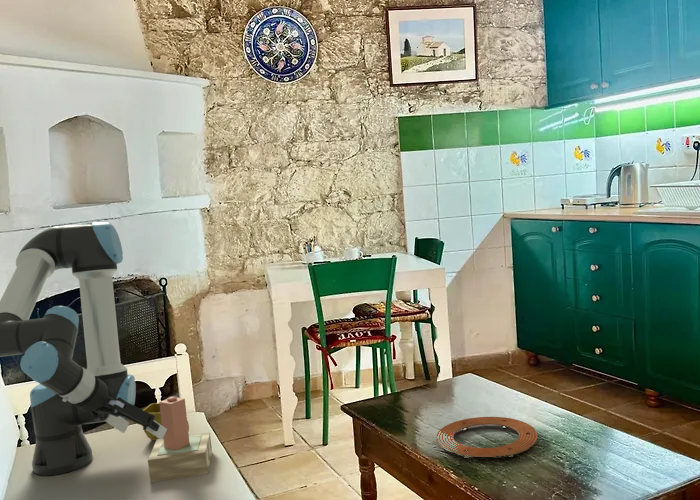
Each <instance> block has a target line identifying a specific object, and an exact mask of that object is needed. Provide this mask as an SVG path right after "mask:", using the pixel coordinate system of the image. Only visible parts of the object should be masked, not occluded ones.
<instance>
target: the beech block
mask: <svg viewBox="0 0 700 500" xmlns="http://www.w3.org/2000/svg"><path fill="white" fill-rule="evenodd" d="M189 442H190V444H189V445H186V446H184V447H182V448H180V449H178V450H173V449H168V448H164V440H163V439H162V440H161V439H157V440H155V443H154V445H153V446H152V450H151V452H150V454H149V457H148V459H147V464H148V473H149V479H150V480H149V481H150V483H152V482H160V481H165V480H166V481H167V480H175V479H180V478H187V477H194V476H201V475H208V474H209V469H210V466H211V465H210V464H211V460H212V456H213V447H212V439H211V432H204V433H194V434H189Z"/></svg>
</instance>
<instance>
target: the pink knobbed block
mask: <svg viewBox="0 0 700 500" xmlns="http://www.w3.org/2000/svg"><path fill="white" fill-rule="evenodd" d="M158 403H159V404H160V413H161V422H162V426H164V427H165V428H166V429H167V431H166V433H165V435H164V437H163V440H164V448H168V449H173V450H178V449H180V448H182V447H184V446H186V445H189V444H190V442H189V435H190V434H189V432H188V424H189V423H188V424H187V421H188V417H187V407H186V398H183V397H177V396H169V397H167V398H166V399H164V400H161V401H158Z"/></svg>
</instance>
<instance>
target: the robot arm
mask: <svg viewBox="0 0 700 500" xmlns="http://www.w3.org/2000/svg"><path fill="white" fill-rule="evenodd" d="M123 253H124V252H123V247H122V243H121V239H120V236H119V234H118V232H117V229H116V228H115V226H114V225H113V224H112V223H110V222H88V223H79V224H71V225H59V226H58V225H57V226H53V227H50V228H46V229H45V230H43V231H41V232H39V233H37V234H36V235H35V236H34V237H32V238H31V239H30V240H29V241H28V242H27V243H25V244H24V245H23V247H22V248H21V249H20V252H19V253H18V255H17V257H16V260H15V265H16V268H15V270H14V272H13V274H12V277H11V278H10V280H9V283H8V284H7V286H6V288H5V290H4V292H3V294H2V295H1V298H0V358H3V357H11V356H19V355H23V356H21V359H20V368H21V371H22V372H23V373H24V374H25V375H26V376H28V377H30V378H31V380H33V381H34V382H36V383H38V384H37V385H36V386H34V387H33V388H32V389H31V390H30V393H29V398H30V405H29V406H30V409H31V410H30V411H31V417H32V423H33V428H34V430H33V431H34V435H35V447H34V452H33V457H32V461H31V462H32V463H31V466H32V472H33V471H34V472H33V473H34V474H35V473H36V475H37V474H38V475H37V476H42V477H43V476H45V477H47V476H56V475H62V474H66V473H69V472H72V471H75V470H78V469H80V468H82V467H84V466H86V465H88V464H90V462H91V461H92V460H93V459H94V457H93V449H92V447H91V445H90V443H89V441H88V440H87V438H86V436H85V434H84V431H83V428H82V427H83V426H82V425H90V424H96V423H103V422H105V423H107V424H108V425H110V426H112V427H113V428H115V429H116V430H118V431H119V432H120V433H122V434H123V433H125V432H126V431H127V429H128V427H129V425H130V421H131V422H133V423H135V424H138V425H140V426H142V430H143V431H144V430H147V431H148V432H150V433H151V434H153V435H154V436H156V437H157V438H159V439H161V440H162V439H163V437H164V435H165V433H166V431H167V429H166V428H165V427H164V426H162V425H161V424H159V423H158V422H156V421H155V420H154V419H155V416H154V415H151V414H149V413H147V412H145V411H144V409H141V408H140V407H137V406H136V405H135V402H136V392H137V391H136V388H137V386H136V385H137V384H136V378H135V376H134V375H133V374H130V373H129V374H128V368H127V367H126V366H125V365H124V364H123V363H121V362H122V361H121V352H120V344H119V333H118V323H117V311H116V304H115V303H116V302H115V292H114V281H113V277H114V275H115V273H117V271H118V264H121V263H122V262H123V260H124V258H123V257H124V256H123ZM62 269H71V272H72V276H74V277H75V278H77V280H78V282H79V283H78V285H79V294H80V305H81V314H82V322H83V323H82V324H83V325H82V326H83V337H84V345H85V355H86V368H85V367H83V366H82V365H80V364H78V363H77V362H76V361H74V360H73V356H74V352H75V351H74V350H75V346H76V342H77V337H78V334H79V323H80V322H79V321H80V318H79V314H78V313H77V312H76V310H74V309H73V308H71V307H69V306H64V305H55V306H52V307H51V308H49V309H47V310H46V312H45V313H44V316H43V317H41V318H31V319H30V317H31V316H32V313H33V311H34V308H35V306H36V305H37V304H36V303H37V301H38V299H39V296H40V295H41V292H42V290H43V288H44V285H45V283H46V280H47V279H48V278H50V277H51V276H53V274H54V273H55V271H57V270H62Z"/></svg>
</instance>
